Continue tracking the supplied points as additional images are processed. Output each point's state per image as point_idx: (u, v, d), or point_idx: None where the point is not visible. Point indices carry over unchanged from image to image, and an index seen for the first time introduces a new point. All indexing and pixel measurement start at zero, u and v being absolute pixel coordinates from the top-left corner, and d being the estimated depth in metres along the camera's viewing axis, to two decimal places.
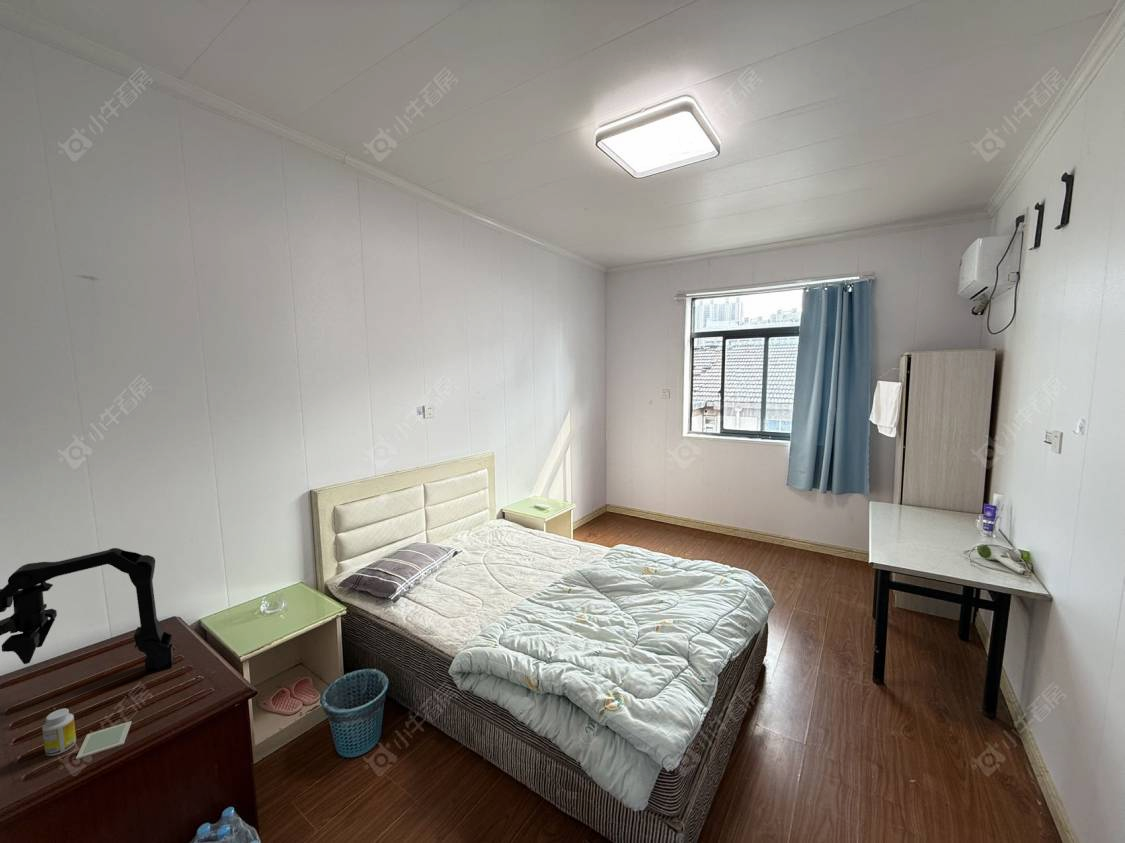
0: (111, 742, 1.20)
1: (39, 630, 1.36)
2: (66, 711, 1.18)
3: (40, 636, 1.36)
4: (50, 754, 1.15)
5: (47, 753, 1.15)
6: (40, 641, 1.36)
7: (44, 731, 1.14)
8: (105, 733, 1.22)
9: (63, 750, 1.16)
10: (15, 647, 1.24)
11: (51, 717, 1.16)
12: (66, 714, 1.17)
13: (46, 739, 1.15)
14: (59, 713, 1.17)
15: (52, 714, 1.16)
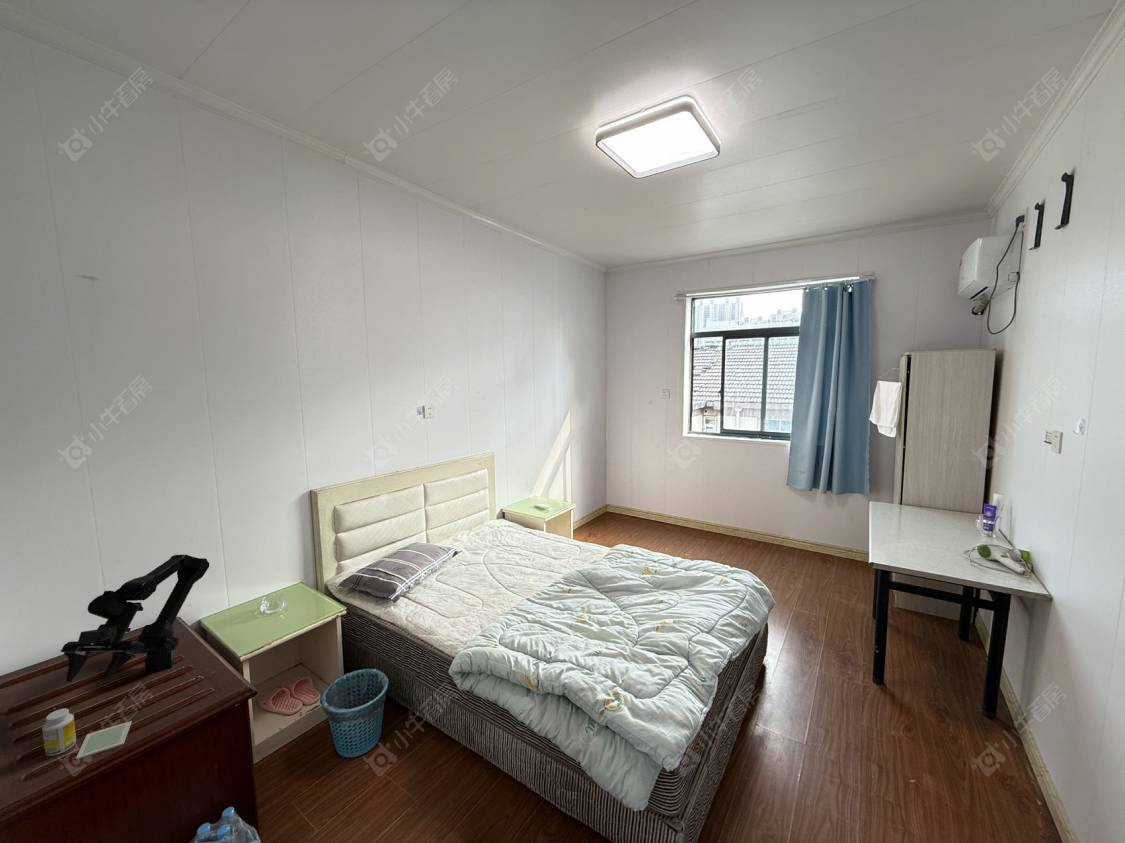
0: (111, 742, 1.20)
1: (79, 661, 1.27)
2: (66, 711, 1.18)
3: (75, 669, 1.26)
4: (50, 754, 1.15)
5: (47, 753, 1.15)
6: (73, 674, 1.25)
7: (44, 731, 1.14)
8: (105, 733, 1.22)
9: (63, 750, 1.16)
10: (136, 649, 1.30)
11: (51, 717, 1.16)
12: (66, 714, 1.17)
13: (46, 739, 1.15)
14: (59, 713, 1.17)
15: (52, 714, 1.16)
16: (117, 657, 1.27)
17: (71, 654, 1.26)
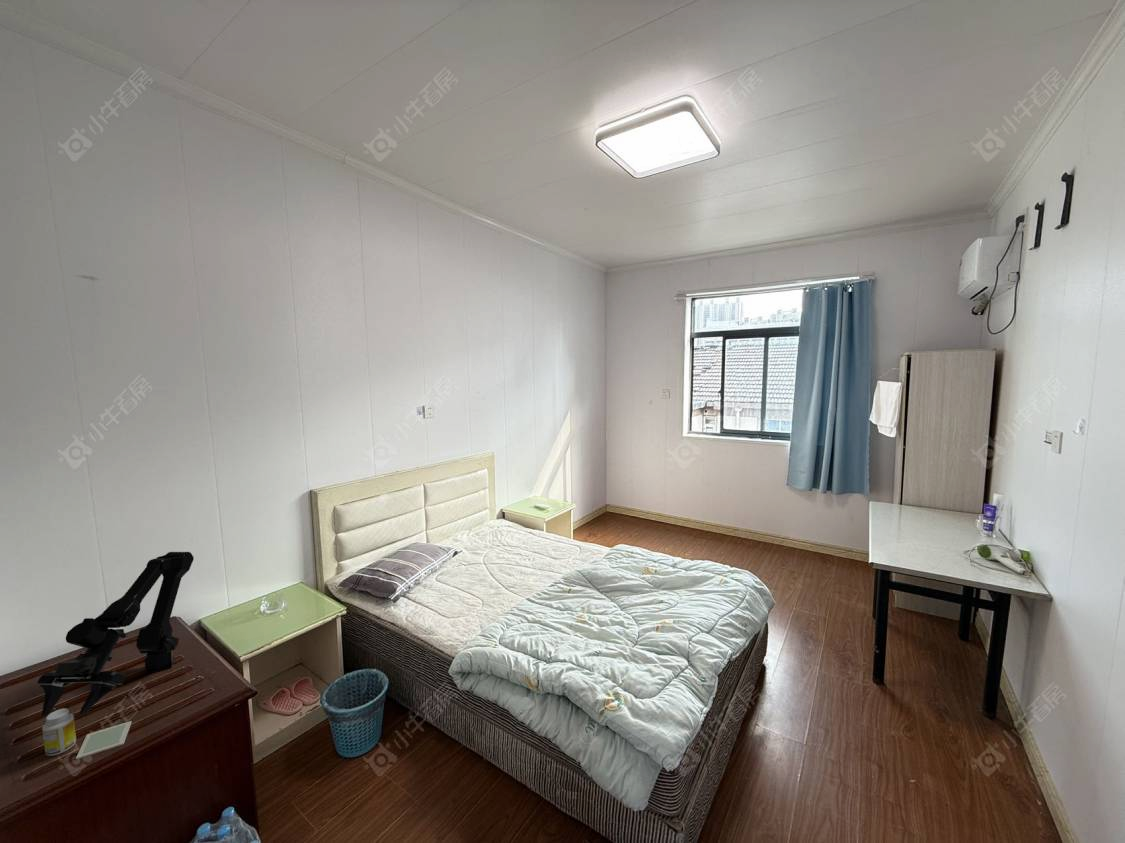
0: (111, 742, 1.20)
1: (56, 693, 1.21)
2: (66, 711, 1.18)
3: (52, 702, 1.20)
4: (50, 754, 1.15)
5: (47, 753, 1.15)
6: (50, 708, 1.19)
7: (44, 731, 1.14)
8: (105, 733, 1.22)
9: (63, 750, 1.16)
10: (116, 680, 1.24)
11: (51, 717, 1.16)
12: (66, 714, 1.17)
13: (46, 739, 1.15)
14: (59, 713, 1.17)
15: (52, 714, 1.16)
16: (96, 689, 1.21)
17: (47, 686, 1.19)
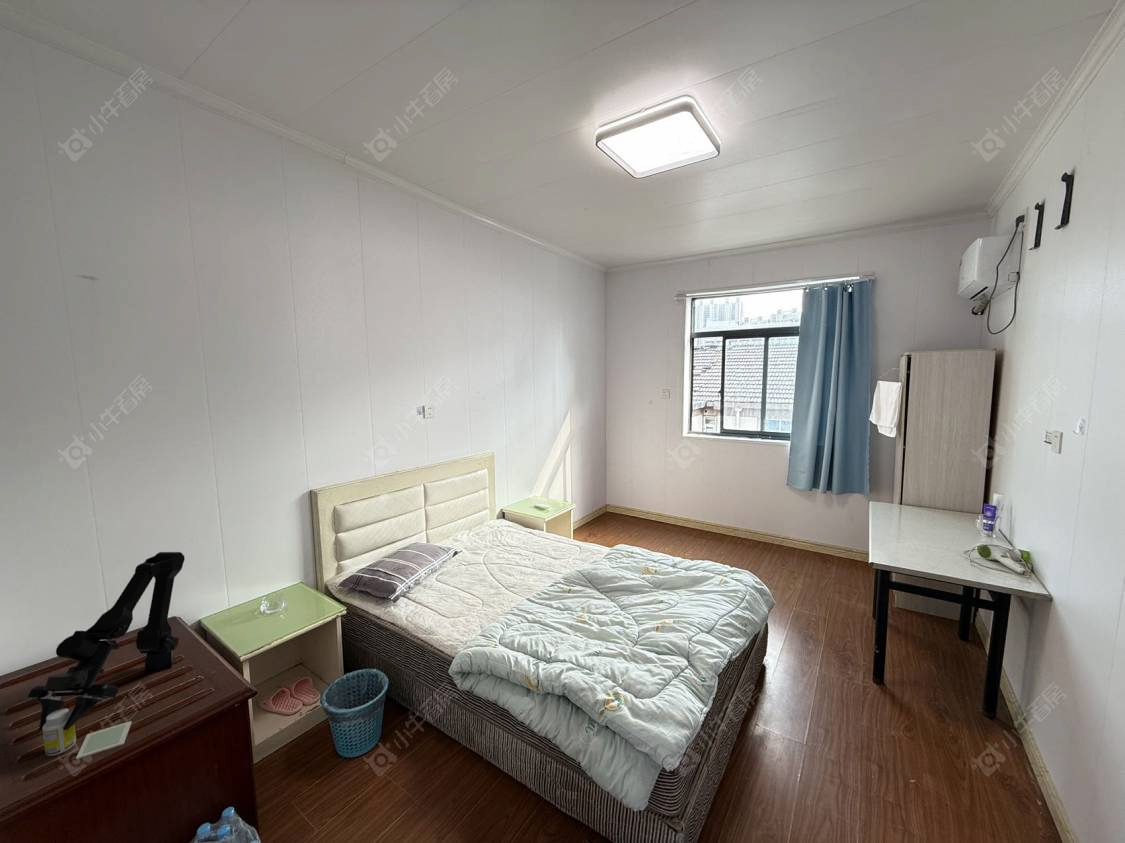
0: (111, 742, 1.20)
1: (53, 707, 1.19)
2: (66, 711, 1.18)
3: None
4: (50, 754, 1.15)
5: (47, 753, 1.15)
6: None
7: (44, 731, 1.14)
8: (105, 733, 1.22)
9: (63, 750, 1.16)
10: (108, 694, 1.21)
11: (51, 717, 1.16)
12: (66, 714, 1.17)
13: (46, 739, 1.15)
14: (59, 713, 1.17)
15: (52, 714, 1.16)
16: (81, 703, 1.18)
17: (45, 700, 1.17)
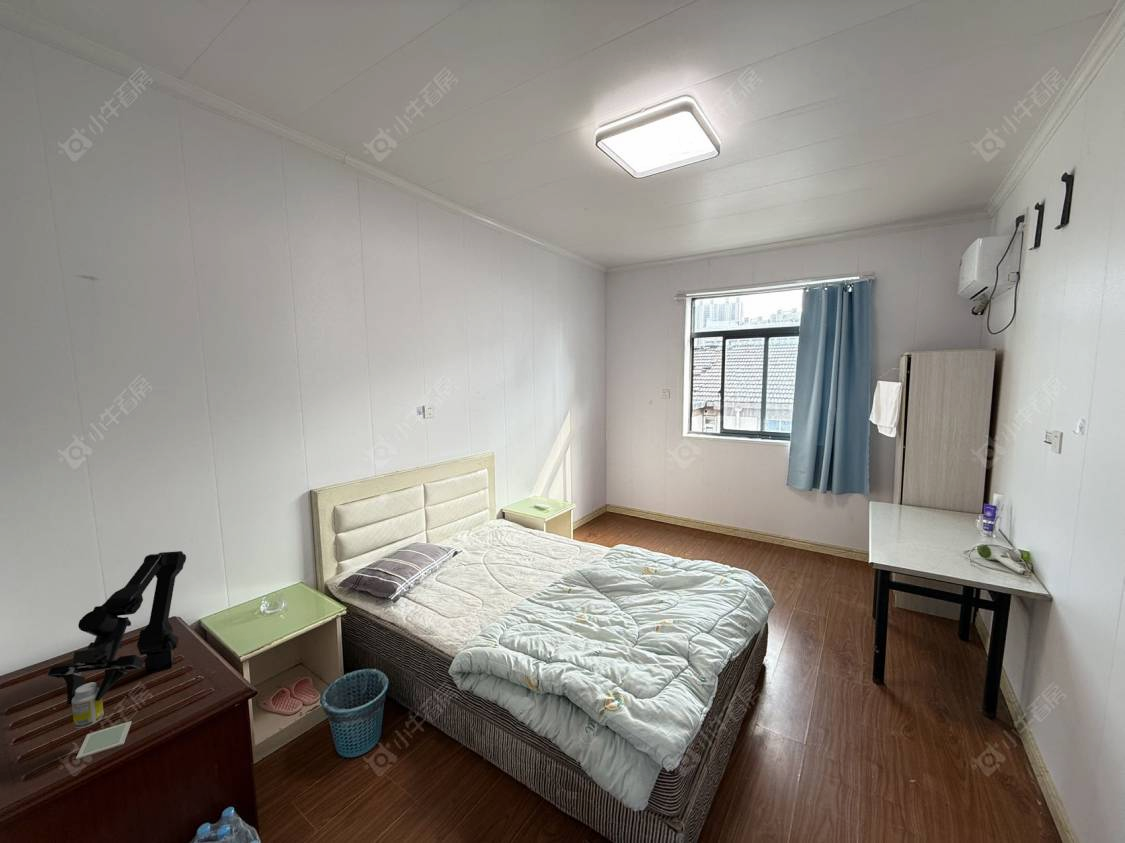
0: (111, 742, 1.20)
1: (77, 682, 1.19)
2: (94, 684, 1.19)
3: (74, 691, 1.18)
4: (81, 726, 1.16)
5: (78, 726, 1.16)
6: None
7: (75, 704, 1.15)
8: (105, 733, 1.22)
9: (94, 721, 1.18)
10: (137, 664, 1.24)
11: (80, 690, 1.17)
12: (95, 686, 1.19)
13: (77, 712, 1.16)
14: (88, 686, 1.18)
15: (80, 688, 1.17)
16: (111, 674, 1.20)
17: (69, 676, 1.18)
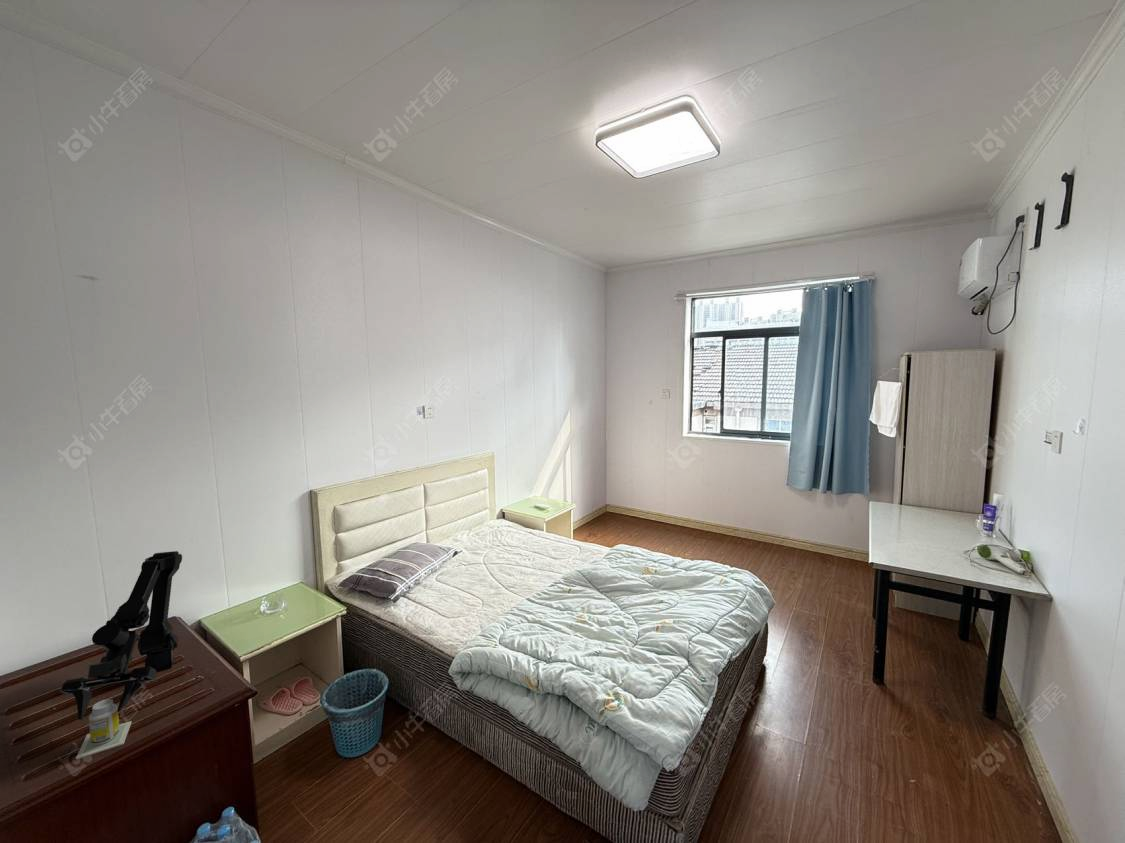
0: (111, 742, 1.20)
1: (86, 697, 1.20)
2: (111, 700, 1.21)
3: (84, 705, 1.19)
4: (100, 742, 1.19)
5: (96, 742, 1.18)
6: (84, 711, 1.19)
7: (93, 721, 1.18)
8: None
9: (112, 737, 1.20)
10: (151, 675, 1.26)
11: (98, 707, 1.19)
12: (112, 703, 1.21)
13: (96, 728, 1.18)
14: (104, 703, 1.20)
15: (97, 705, 1.19)
16: (131, 685, 1.23)
17: (78, 691, 1.18)
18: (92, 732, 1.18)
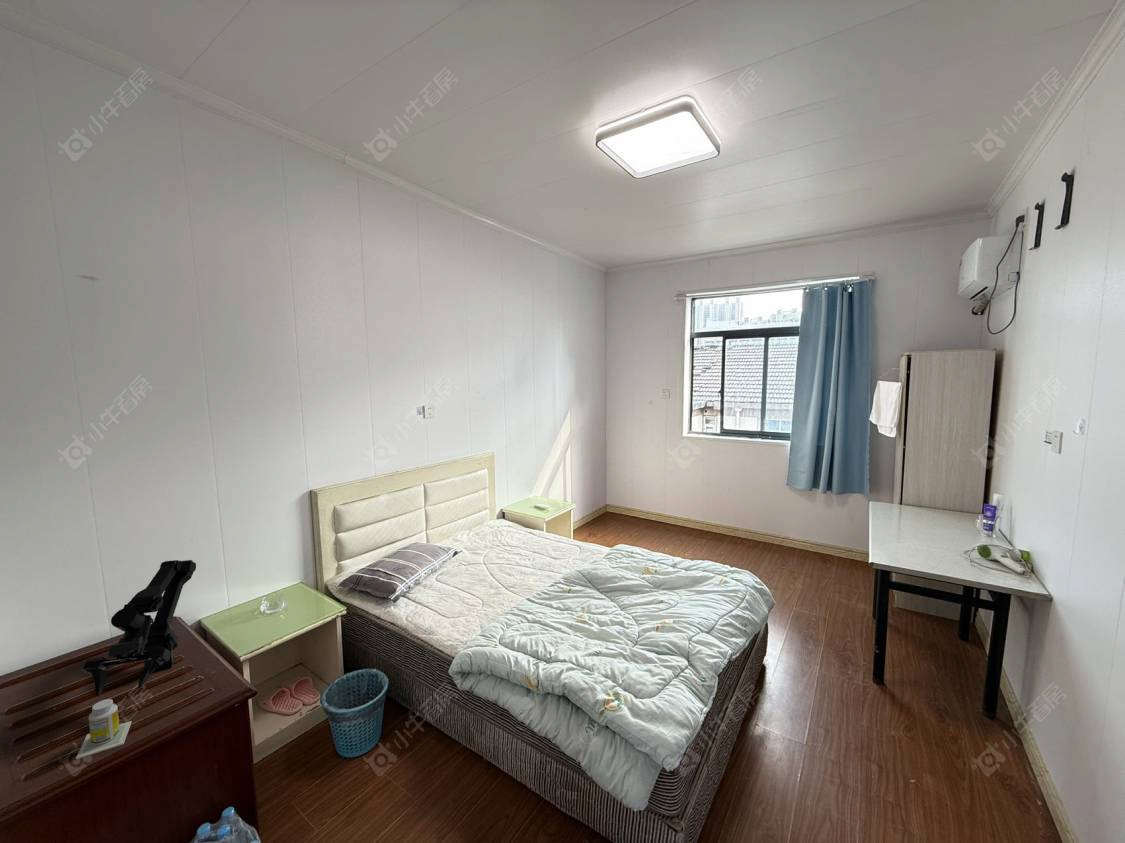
0: (111, 742, 1.20)
1: (103, 676, 1.28)
2: (111, 700, 1.21)
3: (101, 684, 1.27)
4: (100, 742, 1.19)
5: (96, 742, 1.18)
6: (101, 689, 1.27)
7: (93, 721, 1.17)
8: None
9: (112, 737, 1.20)
10: (166, 655, 1.35)
11: (98, 707, 1.19)
12: (112, 703, 1.21)
13: (96, 729, 1.18)
14: (104, 703, 1.20)
15: (97, 705, 1.19)
16: (150, 665, 1.31)
17: (96, 670, 1.27)
18: (92, 732, 1.18)
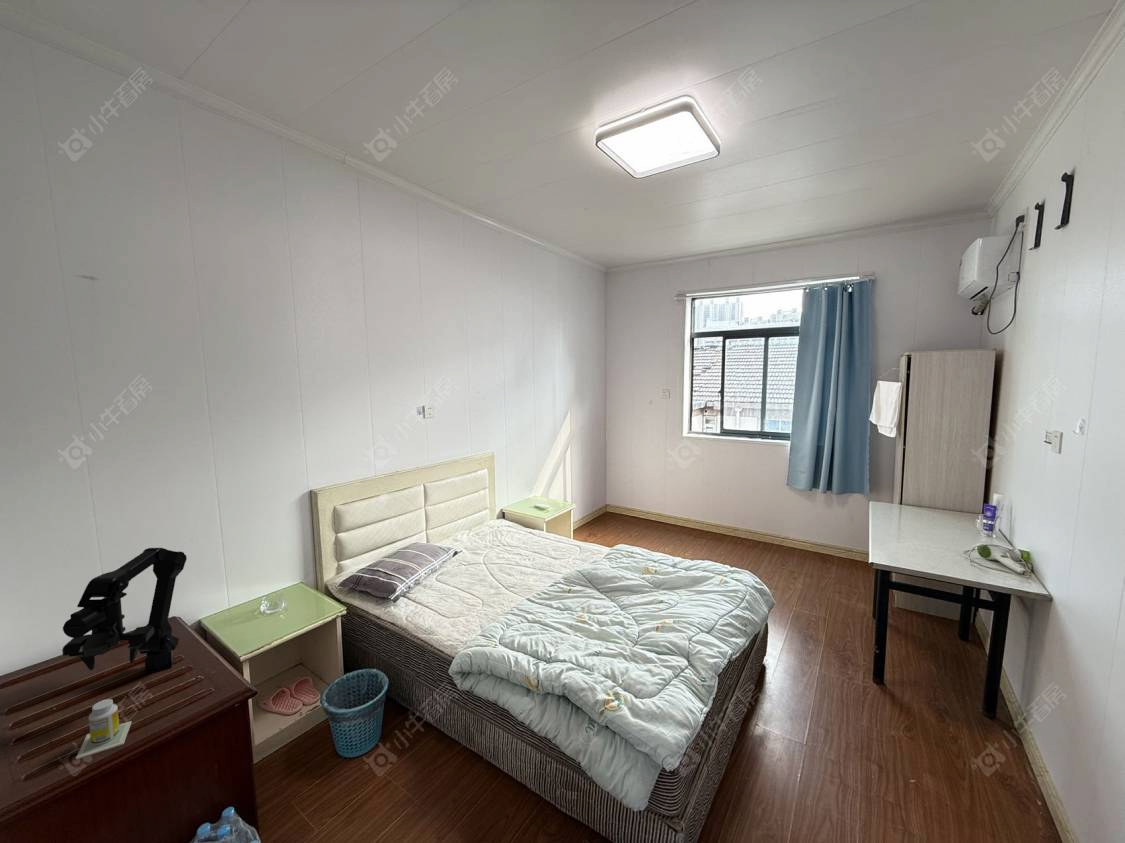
0: (111, 742, 1.20)
1: None
2: (111, 700, 1.21)
3: (91, 658, 1.30)
4: (100, 742, 1.19)
5: (96, 742, 1.18)
6: (93, 662, 1.30)
7: (93, 721, 1.17)
8: None
9: (112, 737, 1.20)
10: (149, 636, 1.34)
11: (97, 707, 1.19)
12: (112, 703, 1.21)
13: (96, 729, 1.18)
14: (104, 703, 1.20)
15: (97, 705, 1.19)
16: (135, 647, 1.32)
17: (79, 655, 1.26)
18: (92, 732, 1.18)
